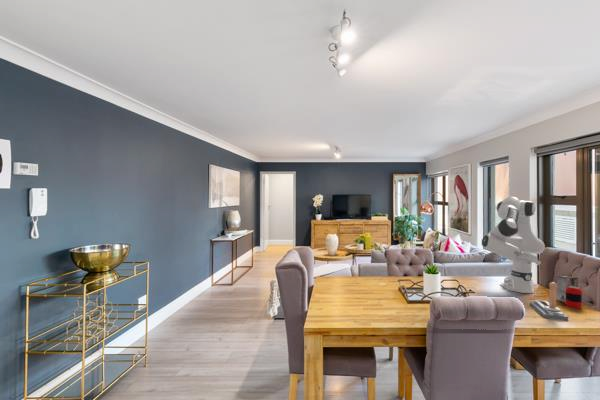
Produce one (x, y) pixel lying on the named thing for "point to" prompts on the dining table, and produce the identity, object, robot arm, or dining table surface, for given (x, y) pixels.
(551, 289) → the tan tall piece
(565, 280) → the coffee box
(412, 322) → the dining table surface
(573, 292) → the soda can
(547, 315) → the fader console
